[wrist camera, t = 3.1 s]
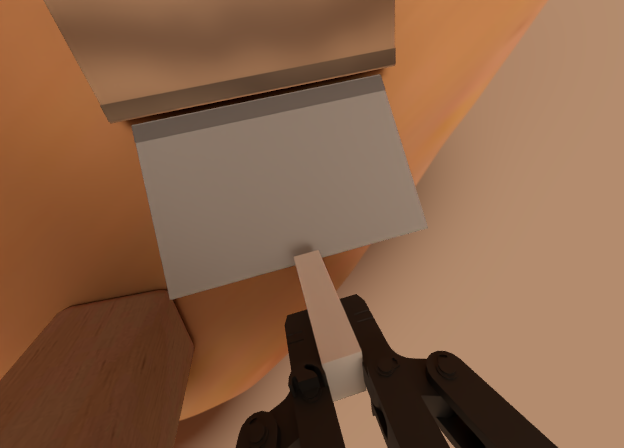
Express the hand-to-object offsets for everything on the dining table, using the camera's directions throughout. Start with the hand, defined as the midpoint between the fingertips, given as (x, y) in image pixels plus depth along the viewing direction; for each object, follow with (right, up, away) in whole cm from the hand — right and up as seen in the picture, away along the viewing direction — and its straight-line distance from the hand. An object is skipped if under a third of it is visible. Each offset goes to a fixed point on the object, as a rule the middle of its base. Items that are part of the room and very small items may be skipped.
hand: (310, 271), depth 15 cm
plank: (-2, +6, +4) cm, 8 cm away
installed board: (-5, +16, +2) cm, 17 cm away
